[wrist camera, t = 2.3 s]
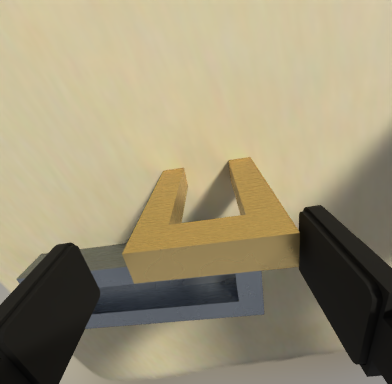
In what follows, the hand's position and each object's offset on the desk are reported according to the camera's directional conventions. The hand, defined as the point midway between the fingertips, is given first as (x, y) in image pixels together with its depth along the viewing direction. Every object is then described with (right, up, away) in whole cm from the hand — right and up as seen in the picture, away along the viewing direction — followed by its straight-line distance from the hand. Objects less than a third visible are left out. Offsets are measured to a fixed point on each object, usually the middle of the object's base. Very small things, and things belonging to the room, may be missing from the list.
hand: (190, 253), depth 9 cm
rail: (-4, -5, +12) cm, 14 cm away
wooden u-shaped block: (+1, +4, +7) cm, 8 cm away
